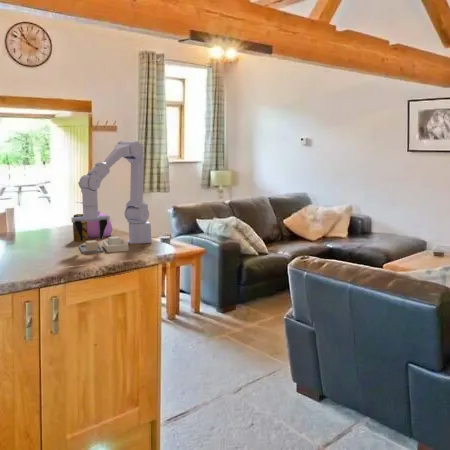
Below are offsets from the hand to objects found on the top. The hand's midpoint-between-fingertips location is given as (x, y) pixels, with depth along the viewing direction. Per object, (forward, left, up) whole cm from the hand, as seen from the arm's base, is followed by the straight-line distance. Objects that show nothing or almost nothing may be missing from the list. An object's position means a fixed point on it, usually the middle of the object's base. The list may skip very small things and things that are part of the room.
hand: (91, 239), depth 206 cm
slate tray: (0, -4, -5) cm, 6 cm away
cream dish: (-10, -3, -5) cm, 11 cm away
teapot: (-7, -36, -6) cm, 37 cm away
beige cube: (0, 0, -5) cm, 5 cm away
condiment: (+3, -24, -6) cm, 25 cm away
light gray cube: (-10, -5, -5) cm, 12 cm away
